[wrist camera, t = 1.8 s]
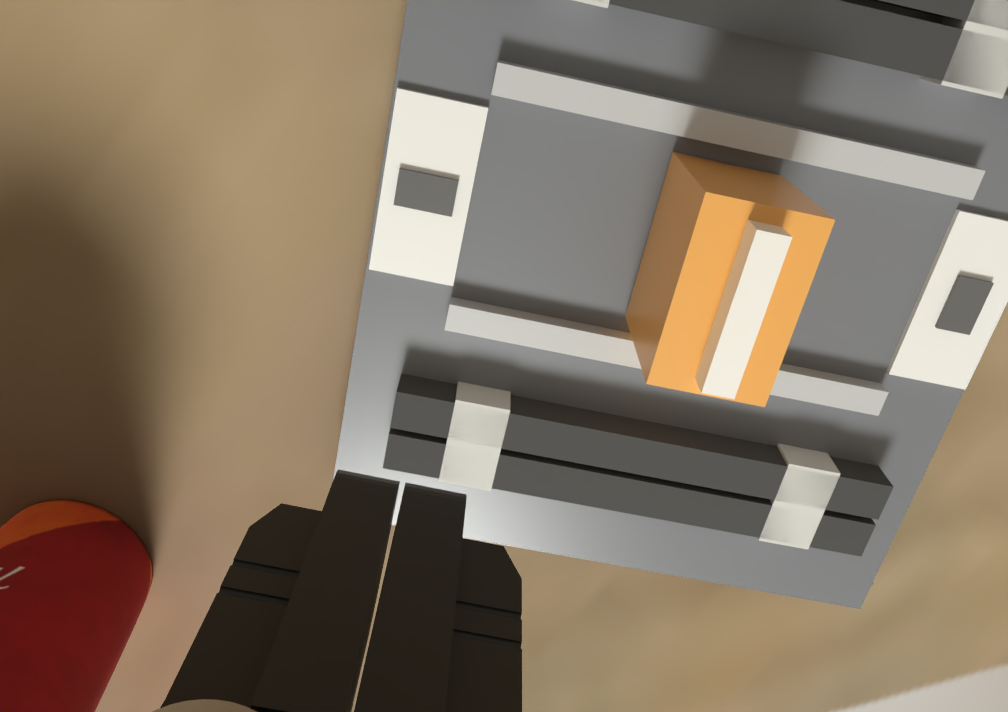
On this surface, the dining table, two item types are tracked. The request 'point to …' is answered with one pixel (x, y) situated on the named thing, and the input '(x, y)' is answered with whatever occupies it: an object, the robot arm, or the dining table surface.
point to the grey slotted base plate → (678, 451)
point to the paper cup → (66, 604)
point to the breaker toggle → (723, 279)
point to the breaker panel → (621, 243)
